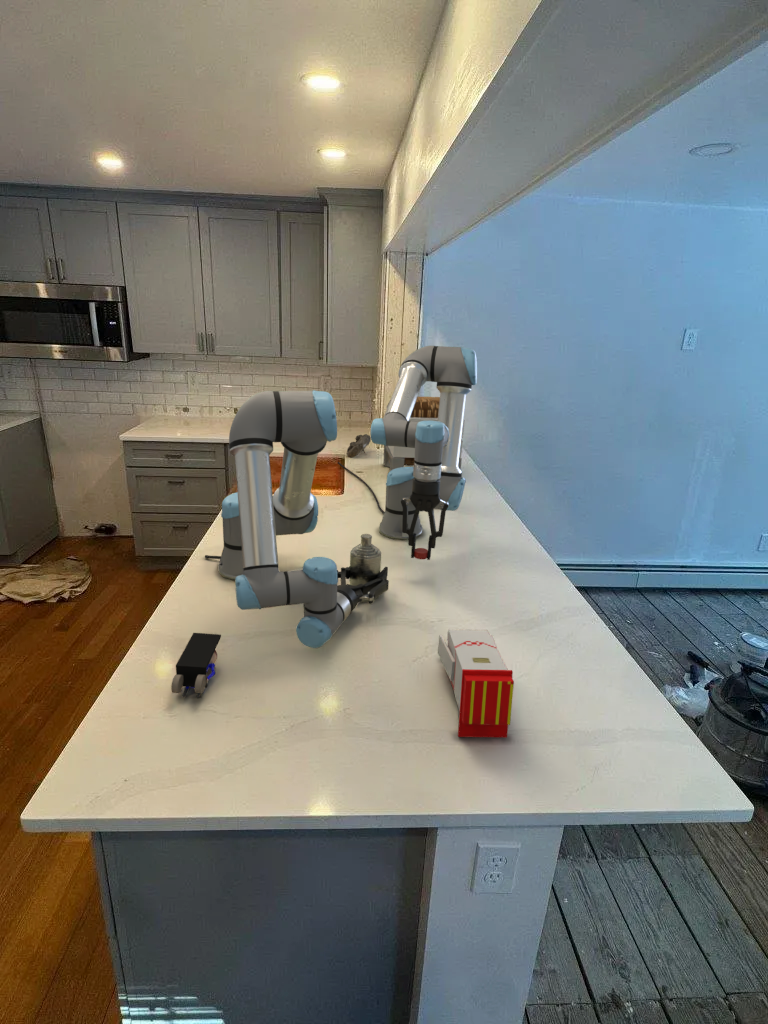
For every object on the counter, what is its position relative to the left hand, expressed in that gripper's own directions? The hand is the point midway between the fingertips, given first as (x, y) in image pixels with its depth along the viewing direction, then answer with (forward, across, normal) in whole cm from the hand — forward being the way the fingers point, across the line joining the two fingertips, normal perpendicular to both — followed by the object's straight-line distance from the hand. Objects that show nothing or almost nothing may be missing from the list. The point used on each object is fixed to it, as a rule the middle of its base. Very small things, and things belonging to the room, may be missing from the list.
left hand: (371, 568), depth 159 cm
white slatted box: (+121, -21, -6) cm, 123 cm away
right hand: (+9, +12, +2) cm, 15 cm away
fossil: (+143, -62, -6) cm, 156 cm away
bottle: (-5, 0, -6) cm, 8 cm away
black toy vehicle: (-54, -17, -6) cm, 57 cm away
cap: (+9, +12, +4) cm, 15 cm away
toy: (-35, +36, -6) cm, 50 cm away
